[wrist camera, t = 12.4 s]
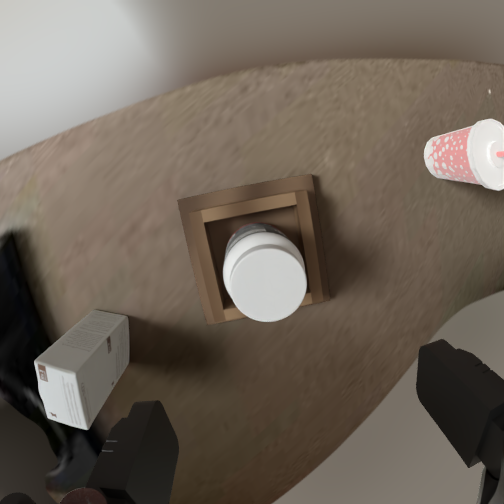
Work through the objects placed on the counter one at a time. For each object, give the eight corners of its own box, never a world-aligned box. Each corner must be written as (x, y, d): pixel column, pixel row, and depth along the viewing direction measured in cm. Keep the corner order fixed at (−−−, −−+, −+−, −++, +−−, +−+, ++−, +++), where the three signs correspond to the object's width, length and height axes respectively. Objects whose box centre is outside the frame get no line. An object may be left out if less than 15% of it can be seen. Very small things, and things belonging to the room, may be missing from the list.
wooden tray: (309, 174, 29) (318, 173, 25) (327, 296, 31) (337, 310, 28) (179, 199, 29) (171, 201, 25) (208, 320, 31) (204, 336, 28)
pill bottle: (299, 265, 29) (330, 304, 20) (245, 294, 30) (250, 345, 20) (270, 209, 28) (289, 222, 18) (213, 240, 28) (203, 269, 19)
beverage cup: (432, 195, 29) (529, 209, 16) (408, 142, 28) (504, 126, 14) (468, 171, 29) (562, 176, 15) (447, 121, 28) (540, 102, 14)
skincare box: (131, 362, 32) (92, 435, 20) (94, 355, 32) (47, 421, 20) (128, 312, 31) (79, 375, 19) (90, 305, 30) (30, 361, 19)
